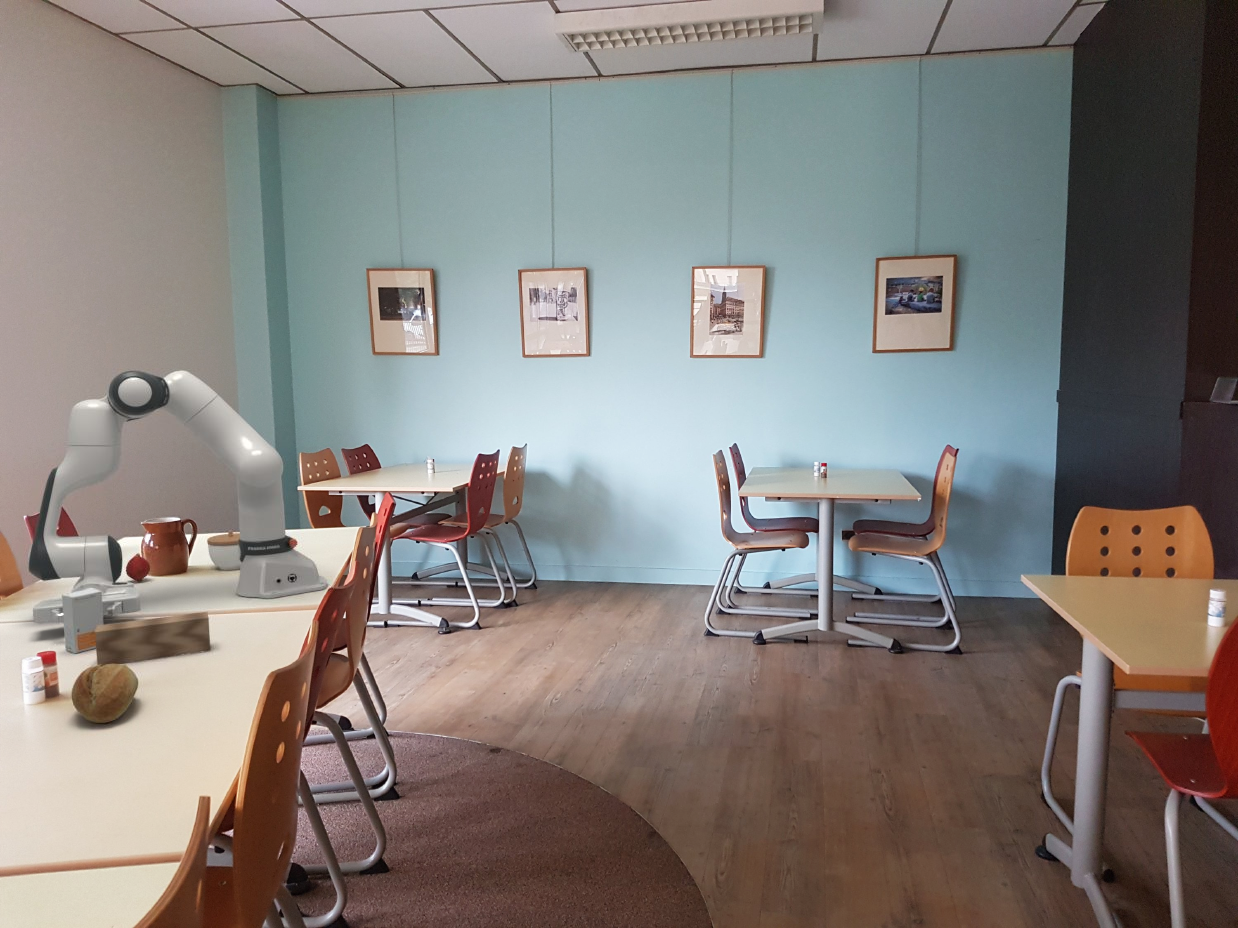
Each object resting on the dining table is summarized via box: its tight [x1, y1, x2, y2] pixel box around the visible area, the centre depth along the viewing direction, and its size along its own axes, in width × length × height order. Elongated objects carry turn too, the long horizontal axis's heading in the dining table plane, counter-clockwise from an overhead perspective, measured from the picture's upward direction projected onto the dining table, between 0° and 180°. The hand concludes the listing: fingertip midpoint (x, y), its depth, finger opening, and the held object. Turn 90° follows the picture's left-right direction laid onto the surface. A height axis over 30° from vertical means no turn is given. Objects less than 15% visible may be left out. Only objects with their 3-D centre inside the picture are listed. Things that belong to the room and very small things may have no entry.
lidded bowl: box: [206, 530, 241, 571], centre depth 249 cm, size 13×13×11 cm
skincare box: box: [61, 589, 104, 654], centre depth 176 cm, size 6×4×12 cm
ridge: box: [95, 611, 211, 666], centre depth 171 cm, size 20×5×7 cm, turn 118°
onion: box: [125, 552, 151, 583], centre depth 232 cm, size 6×6×8 cm
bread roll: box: [71, 664, 139, 724], centre depth 143 cm, size 10×15×8 cm, turn 27°
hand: (85, 615), depth 181 cm, fingers open, 8 cm apart
